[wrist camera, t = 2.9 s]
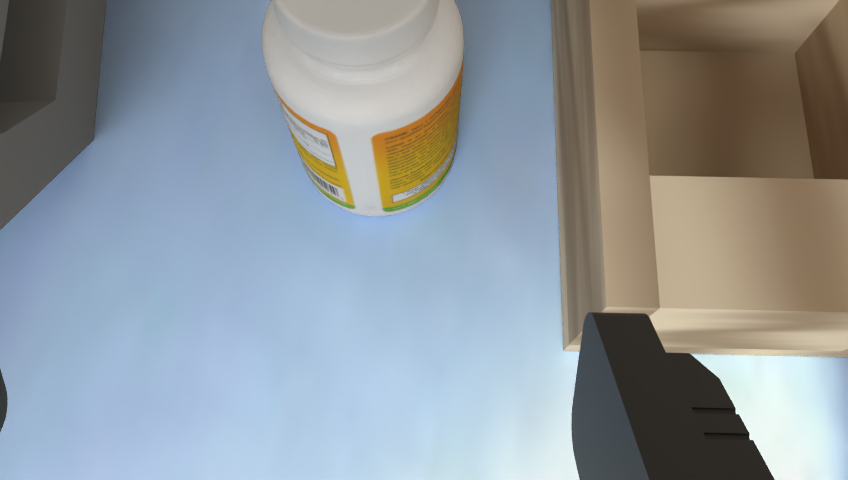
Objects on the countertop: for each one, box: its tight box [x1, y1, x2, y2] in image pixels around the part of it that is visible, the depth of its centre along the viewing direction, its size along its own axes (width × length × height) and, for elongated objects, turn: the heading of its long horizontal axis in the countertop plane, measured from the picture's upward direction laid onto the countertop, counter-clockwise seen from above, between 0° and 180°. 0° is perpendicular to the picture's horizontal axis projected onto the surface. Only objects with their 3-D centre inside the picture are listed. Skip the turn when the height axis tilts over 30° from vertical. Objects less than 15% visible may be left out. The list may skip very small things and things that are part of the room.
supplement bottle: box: [262, 0, 464, 216], centre depth 21 cm, size 5×5×10 cm
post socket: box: [551, 0, 848, 357], centre depth 23 cm, size 10×14×6 cm
